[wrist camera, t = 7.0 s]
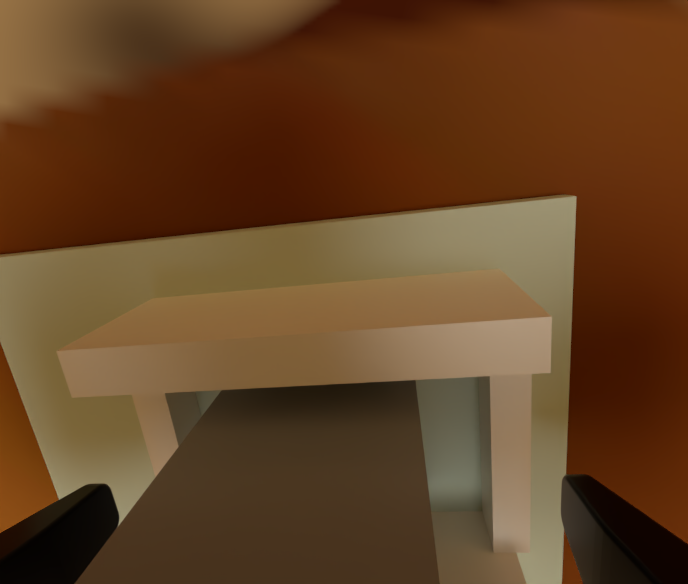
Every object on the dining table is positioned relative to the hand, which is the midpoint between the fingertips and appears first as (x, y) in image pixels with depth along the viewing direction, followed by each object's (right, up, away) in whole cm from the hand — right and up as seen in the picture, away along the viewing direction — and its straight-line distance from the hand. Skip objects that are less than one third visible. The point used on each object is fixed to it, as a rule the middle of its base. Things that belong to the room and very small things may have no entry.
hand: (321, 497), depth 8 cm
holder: (0, +1, +2) cm, 2 cm away
